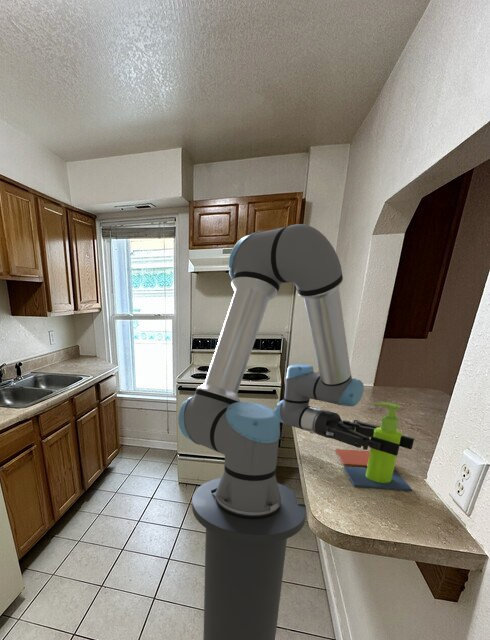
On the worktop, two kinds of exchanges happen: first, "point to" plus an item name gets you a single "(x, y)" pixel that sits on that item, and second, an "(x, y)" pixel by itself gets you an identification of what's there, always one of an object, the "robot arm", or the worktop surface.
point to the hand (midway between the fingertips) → (405, 446)
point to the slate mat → (361, 480)
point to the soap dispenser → (378, 460)
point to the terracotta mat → (354, 457)
